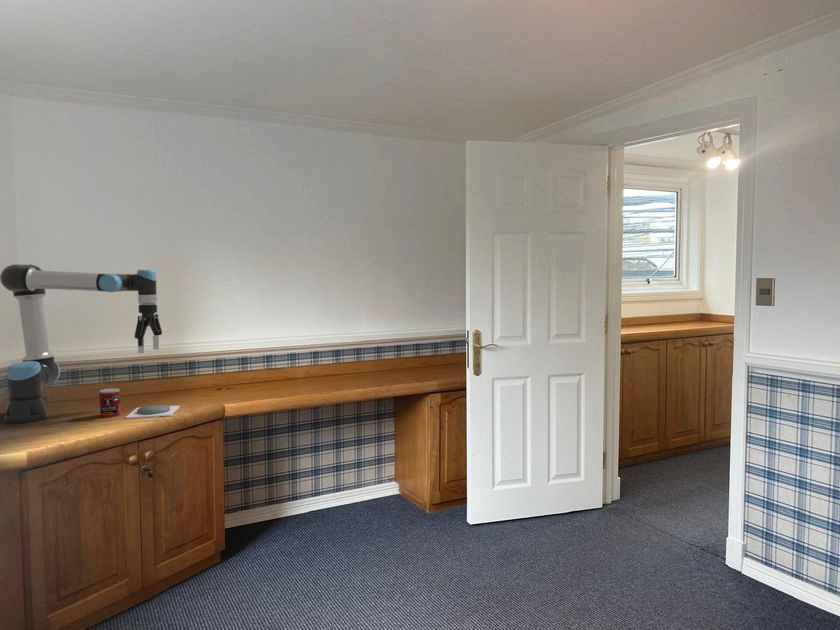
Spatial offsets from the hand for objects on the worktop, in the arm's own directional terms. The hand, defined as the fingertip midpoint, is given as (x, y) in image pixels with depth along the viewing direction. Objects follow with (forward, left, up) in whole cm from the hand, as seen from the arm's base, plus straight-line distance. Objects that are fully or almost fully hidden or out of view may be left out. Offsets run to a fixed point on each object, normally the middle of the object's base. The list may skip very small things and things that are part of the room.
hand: (149, 351), depth 265 cm
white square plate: (+4, -12, -25) cm, 28 cm away
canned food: (-13, -13, -26) cm, 32 cm away
